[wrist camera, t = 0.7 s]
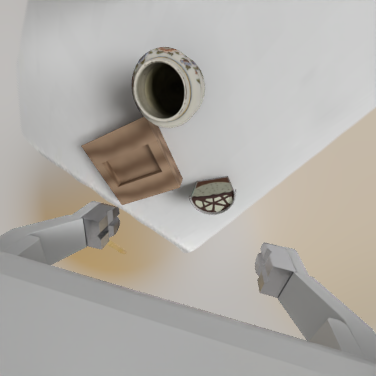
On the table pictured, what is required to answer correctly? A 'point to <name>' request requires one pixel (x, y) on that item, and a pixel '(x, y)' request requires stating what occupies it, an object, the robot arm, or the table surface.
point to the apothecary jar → (167, 87)
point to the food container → (213, 195)
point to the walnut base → (135, 161)
